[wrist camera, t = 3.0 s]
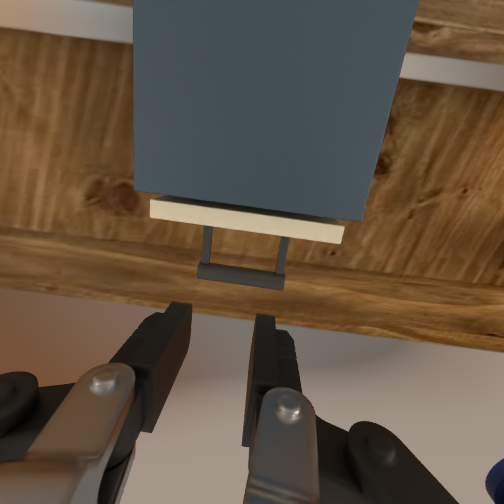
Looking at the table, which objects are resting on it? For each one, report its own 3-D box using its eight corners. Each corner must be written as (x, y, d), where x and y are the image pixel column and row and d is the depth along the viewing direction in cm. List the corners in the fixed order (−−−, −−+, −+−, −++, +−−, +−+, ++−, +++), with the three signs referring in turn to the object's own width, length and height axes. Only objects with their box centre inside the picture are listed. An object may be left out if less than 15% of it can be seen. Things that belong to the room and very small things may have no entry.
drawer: (305, 270, 26) (323, 315, 18) (185, 253, 27) (148, 290, 18) (352, 42, 21) (411, -48, 12) (198, 21, 21) (153, -81, 12)
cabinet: (323, 202, 25) (361, 222, 15) (186, 183, 25) (133, 190, 15) (364, 7, 21) (459, -153, 11) (196, -15, 21) (131, -193, 11)
